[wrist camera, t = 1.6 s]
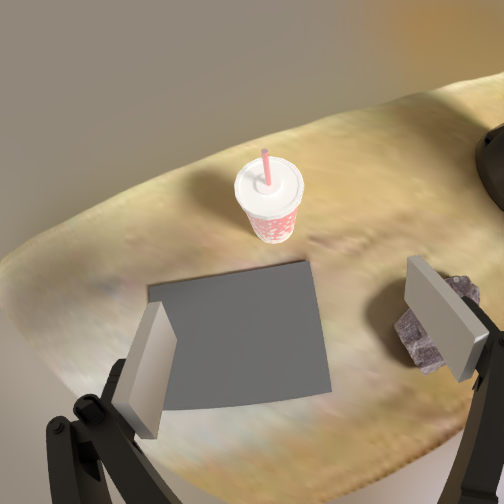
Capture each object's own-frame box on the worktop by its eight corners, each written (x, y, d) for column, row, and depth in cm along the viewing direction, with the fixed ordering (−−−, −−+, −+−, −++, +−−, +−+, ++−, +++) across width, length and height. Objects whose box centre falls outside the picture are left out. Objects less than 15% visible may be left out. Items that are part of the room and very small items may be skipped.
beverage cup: (300, 251, 34) (307, 188, 21) (244, 249, 35) (218, 187, 22) (301, 200, 36) (305, 121, 23) (248, 199, 37) (227, 121, 23)
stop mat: (308, 262, 34) (309, 260, 33) (331, 390, 29) (331, 391, 29) (150, 287, 35) (148, 286, 34) (164, 409, 30) (162, 410, 30)
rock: (482, 320, 29) (503, 315, 25) (417, 383, 28) (434, 387, 24) (448, 267, 32) (466, 255, 27) (380, 325, 31) (393, 321, 27)
